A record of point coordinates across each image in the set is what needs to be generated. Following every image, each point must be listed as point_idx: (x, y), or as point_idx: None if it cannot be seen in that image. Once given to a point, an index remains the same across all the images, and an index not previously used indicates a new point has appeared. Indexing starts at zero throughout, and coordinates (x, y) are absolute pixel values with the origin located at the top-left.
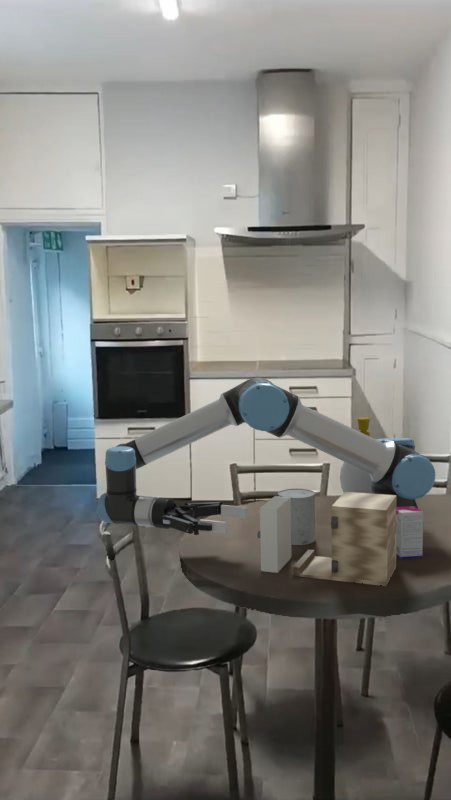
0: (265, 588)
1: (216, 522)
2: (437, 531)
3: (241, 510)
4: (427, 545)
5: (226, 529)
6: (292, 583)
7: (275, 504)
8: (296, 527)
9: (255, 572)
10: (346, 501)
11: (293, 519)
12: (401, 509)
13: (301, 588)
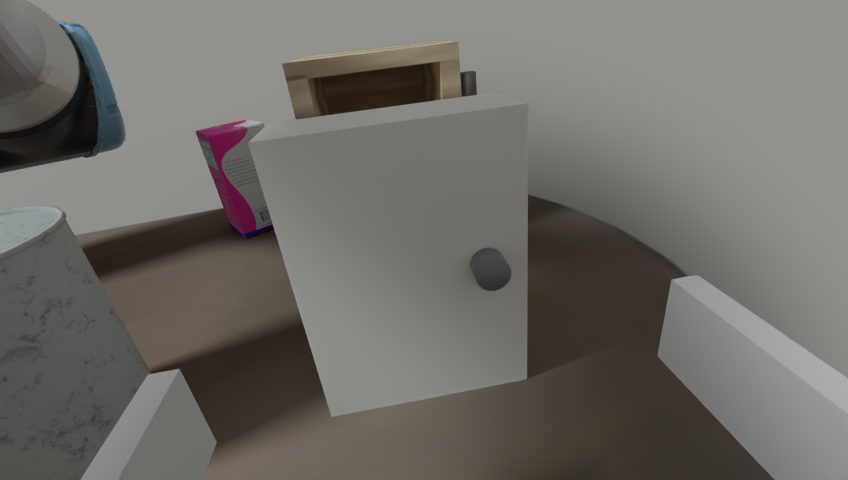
0: (647, 303)
1: (768, 331)
2: (94, 236)
3: (174, 427)
4: (195, 223)
5: (664, 332)
6: (552, 278)
7: (423, 107)
8: (130, 354)
9: (557, 386)
10: (395, 48)
11: (108, 331)
12: (232, 127)
13: (565, 256)
